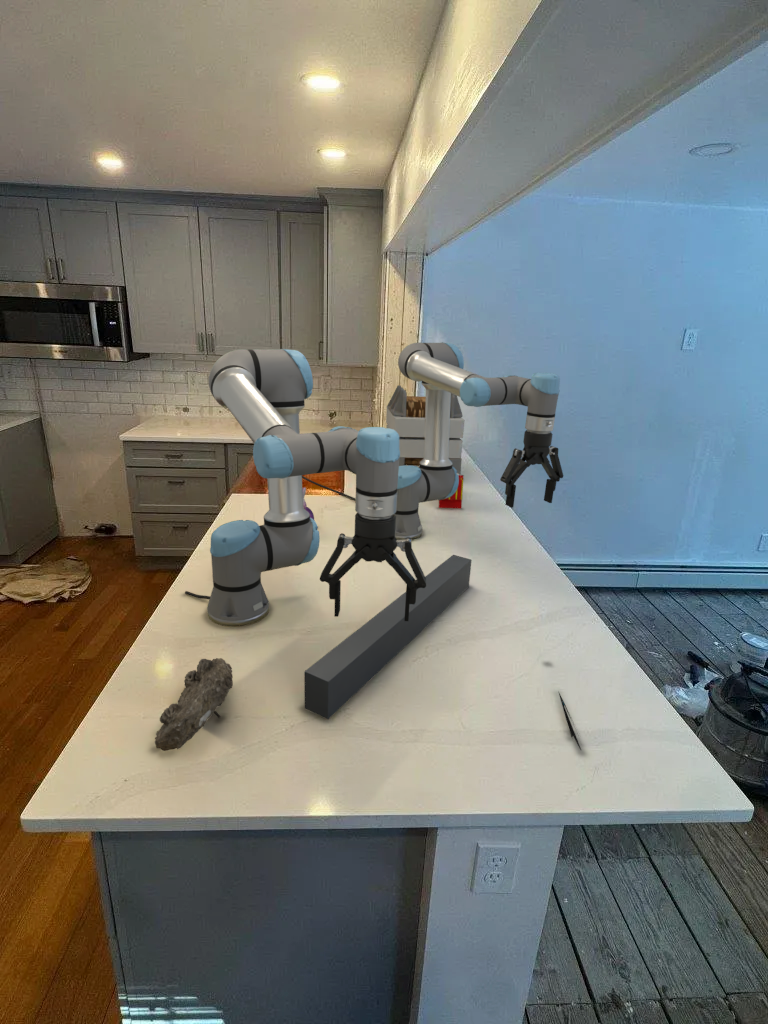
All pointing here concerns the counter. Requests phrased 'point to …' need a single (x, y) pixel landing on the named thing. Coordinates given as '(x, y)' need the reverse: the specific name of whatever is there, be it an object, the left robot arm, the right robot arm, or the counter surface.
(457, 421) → the grey storage crate
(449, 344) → the right robot arm
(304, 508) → the figurine
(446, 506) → the toy
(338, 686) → the bar
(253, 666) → the counter surface
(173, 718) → the fossil
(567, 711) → the feather
